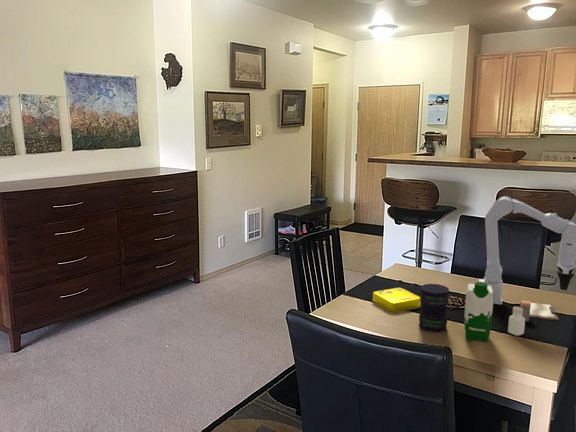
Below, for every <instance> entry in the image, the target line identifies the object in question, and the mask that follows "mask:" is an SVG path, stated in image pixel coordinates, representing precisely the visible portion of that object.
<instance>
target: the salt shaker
mask: <svg viewBox="0 0 576 432" xmlns="http://www.w3.org/2000/svg"><path fill="white" fill-rule="evenodd" d="M522 314H523V308H521V306H513V307H512V315H510V316H509V317H508V325H507V326H508V327H507V333H509V334H511V335H514V336H517V337H518V336H522V335H524V333H525V327H526V326H525V325H526V321H525V318H524V317H522Z"/></svg>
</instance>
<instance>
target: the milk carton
mask: <svg viewBox="0 0 576 432" xmlns="http://www.w3.org/2000/svg"><path fill="white" fill-rule="evenodd" d="M464 305H465V306H464V318H463V319H464V321H463V323H464V331H465V340H467V341H473V342H474V341H475V342H481V343H489V338H490V334H491V329H492V323H493V322H492V321H493V320H492V319H493V308H494V304H493V290H492V287H491V286H488V285H487V284H486V283H483V282H479V281H477V282H475V283H468V284H467V288H466V293H465V304H464Z"/></svg>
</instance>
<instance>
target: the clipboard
mask: <svg viewBox="0 0 576 432" xmlns="http://www.w3.org/2000/svg"><path fill="white" fill-rule="evenodd" d="M530 303H531V306H530V316H529V318H532V319H533V318H534V319H540V320H550V321H557V322H558V321H560V319H559V317H558V315H557V311H556V308H555V307H554V306H553V304H550V303H549V304H546V303H539V302H532V301H530ZM519 304H520V306H521V300H519Z"/></svg>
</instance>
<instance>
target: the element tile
mask: <svg viewBox="0 0 576 432" xmlns="http://www.w3.org/2000/svg"><path fill="white" fill-rule="evenodd" d="M420 298H421V297H420V296H419V295H417V294H414V293H413V292H410V291H408V290H406V289H404V288H402V287H394V288H388V289H382V290H375V291H373V292H372V302H373V303H374V302H375V303H374V304H375V305H377V306H379V307H381V308H383V309H384V310H386V311H388V312H390V313H399V312H403V311H410V310H415V309H419V307H420V308H421V302H420Z"/></svg>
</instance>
